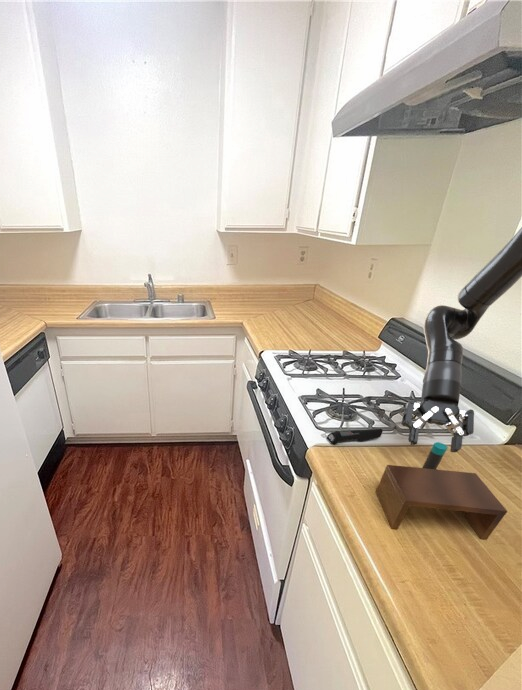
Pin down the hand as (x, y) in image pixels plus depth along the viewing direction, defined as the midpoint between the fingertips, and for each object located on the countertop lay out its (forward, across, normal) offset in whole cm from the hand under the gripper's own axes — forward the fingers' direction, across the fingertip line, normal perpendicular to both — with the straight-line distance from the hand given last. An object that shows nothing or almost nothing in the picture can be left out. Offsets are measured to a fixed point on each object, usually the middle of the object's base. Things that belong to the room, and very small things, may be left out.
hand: (433, 448), depth 81 cm
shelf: (+16, -2, -5) cm, 17 cm away
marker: (+7, 0, +4) cm, 8 cm away
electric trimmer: (-2, -15, +13) cm, 20 cm away
